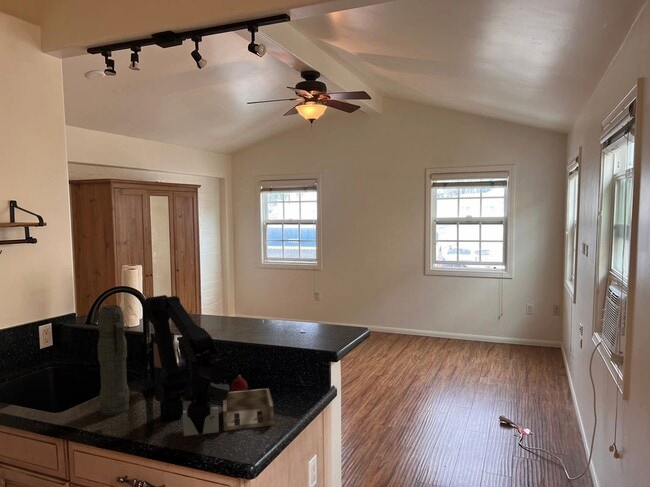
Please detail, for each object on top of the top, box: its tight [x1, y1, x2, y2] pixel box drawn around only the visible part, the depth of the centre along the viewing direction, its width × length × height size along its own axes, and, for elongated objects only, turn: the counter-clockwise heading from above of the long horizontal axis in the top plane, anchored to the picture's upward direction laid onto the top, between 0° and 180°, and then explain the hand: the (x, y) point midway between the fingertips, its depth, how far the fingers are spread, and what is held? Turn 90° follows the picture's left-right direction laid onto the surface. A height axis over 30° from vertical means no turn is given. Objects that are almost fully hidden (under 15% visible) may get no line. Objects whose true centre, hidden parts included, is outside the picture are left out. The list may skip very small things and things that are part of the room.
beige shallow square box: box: [222, 388, 275, 431], centre depth 147 cm, size 15×15×6 cm
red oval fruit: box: [230, 374, 249, 392], centre depth 163 cm, size 6×6×8 cm
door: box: [182, 406, 220, 437], centre depth 136 cm, size 10×3×7 cm, turn 102°
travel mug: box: [152, 332, 176, 390], centre depth 174 cm, size 8×8×20 cm
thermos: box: [97, 304, 130, 416], centre depth 153 cm, size 9×12×35 cm
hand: (201, 427), depth 137 cm, fingers open, 8 cm apart
